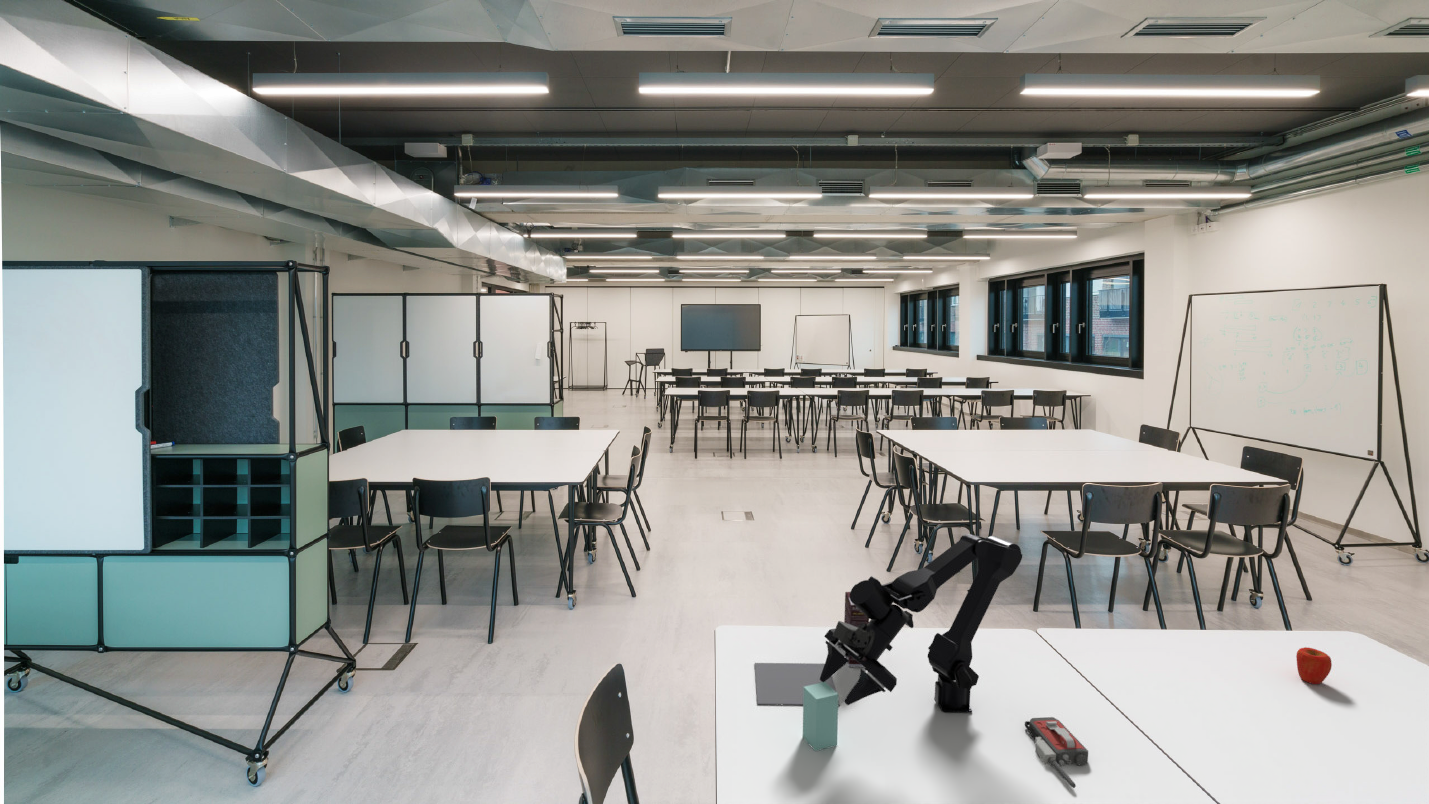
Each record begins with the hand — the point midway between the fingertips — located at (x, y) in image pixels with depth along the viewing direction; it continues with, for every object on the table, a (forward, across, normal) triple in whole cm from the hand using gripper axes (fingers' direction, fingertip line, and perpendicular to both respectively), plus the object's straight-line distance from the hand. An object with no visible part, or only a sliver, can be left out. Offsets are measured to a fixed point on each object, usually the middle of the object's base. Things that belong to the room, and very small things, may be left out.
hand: (833, 692), depth 145 cm
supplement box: (-9, -26, +23) cm, 36 cm away
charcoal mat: (+5, -21, +9) cm, 24 cm away
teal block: (+9, 0, +5) cm, 10 cm away
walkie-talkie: (-20, +22, +34) cm, 45 cm away
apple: (-75, +24, +88) cm, 118 cm away
